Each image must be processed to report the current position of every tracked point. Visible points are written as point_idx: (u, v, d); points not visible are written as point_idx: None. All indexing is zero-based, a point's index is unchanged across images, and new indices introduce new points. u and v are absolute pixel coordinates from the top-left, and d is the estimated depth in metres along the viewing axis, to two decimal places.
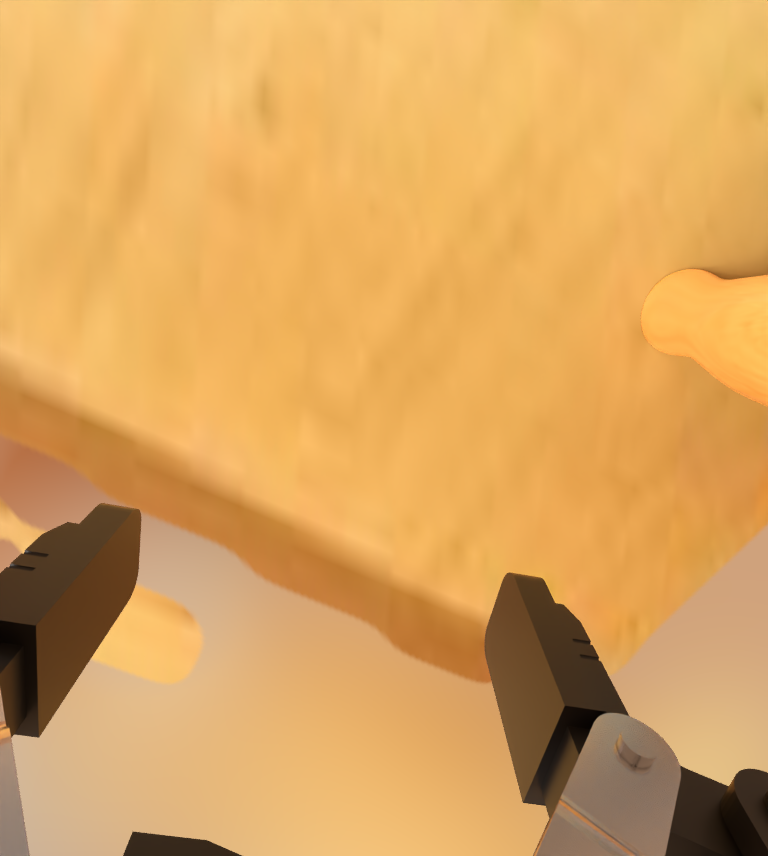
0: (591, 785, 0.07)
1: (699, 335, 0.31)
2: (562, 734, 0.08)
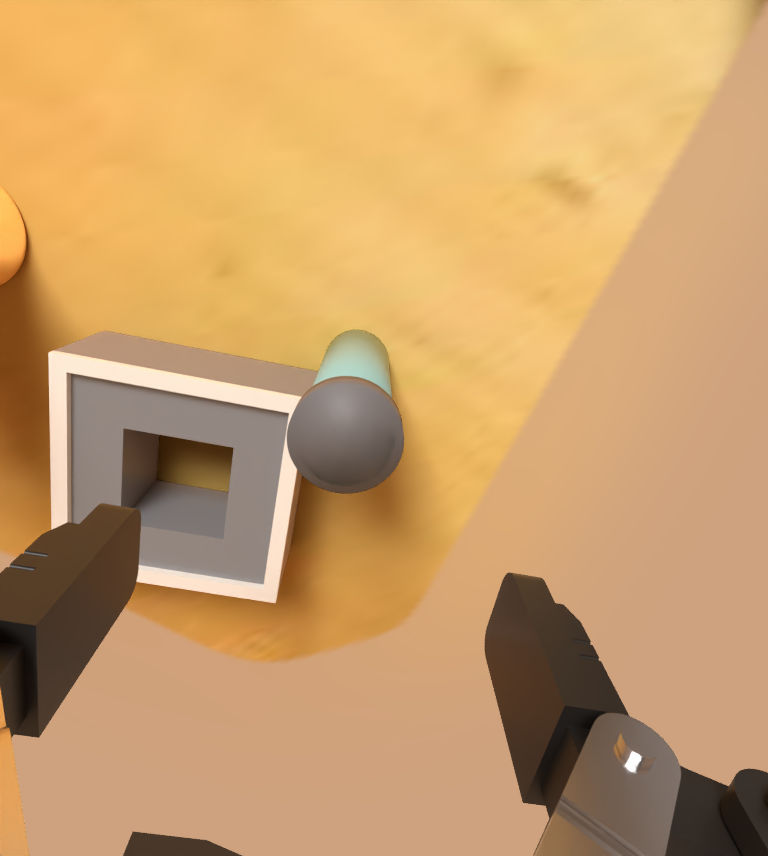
0: (591, 785, 0.07)
1: None
2: (562, 734, 0.08)
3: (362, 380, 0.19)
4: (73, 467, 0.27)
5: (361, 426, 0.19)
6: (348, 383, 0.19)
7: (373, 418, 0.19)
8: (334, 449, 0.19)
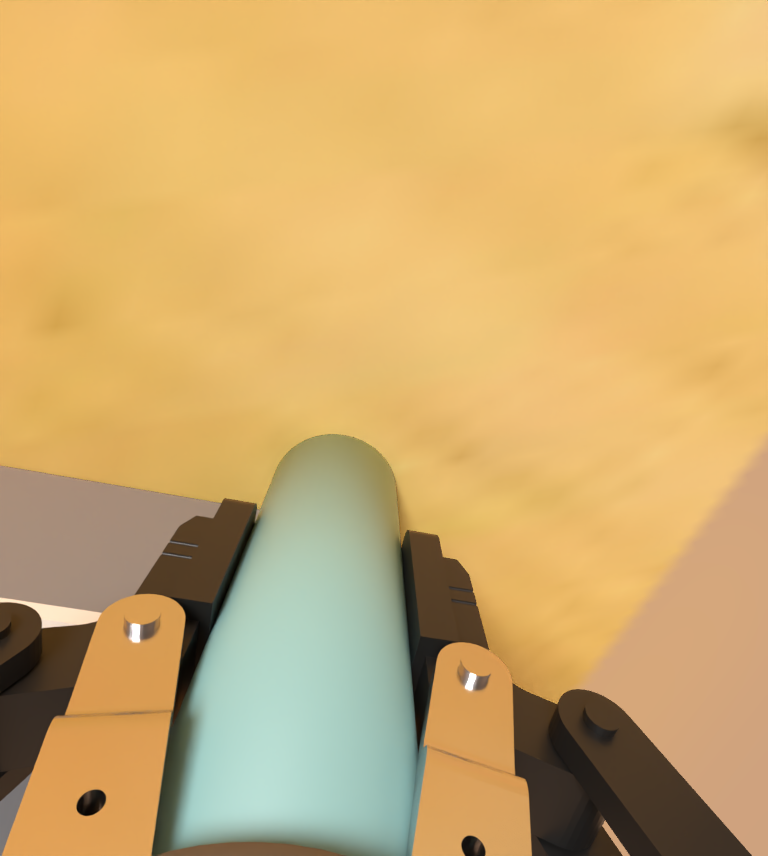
0: (446, 718, 0.07)
1: None
2: (420, 664, 0.09)
3: None
4: None
5: None
6: None
7: None
8: None
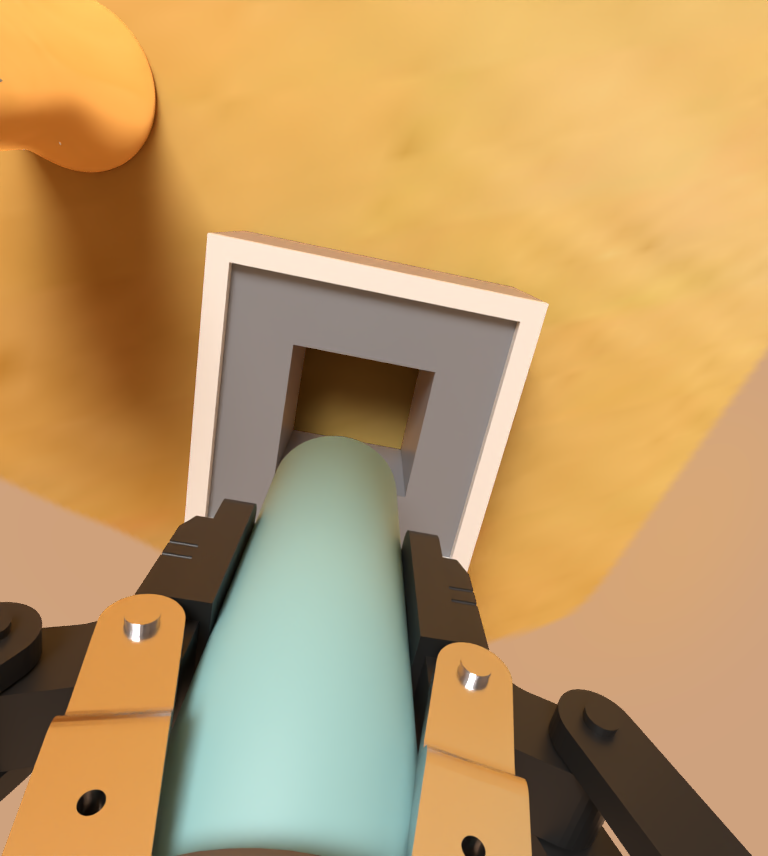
0: (446, 719, 0.07)
1: None
2: (420, 664, 0.09)
3: None
4: (221, 399, 0.21)
5: None
6: None
7: None
8: None
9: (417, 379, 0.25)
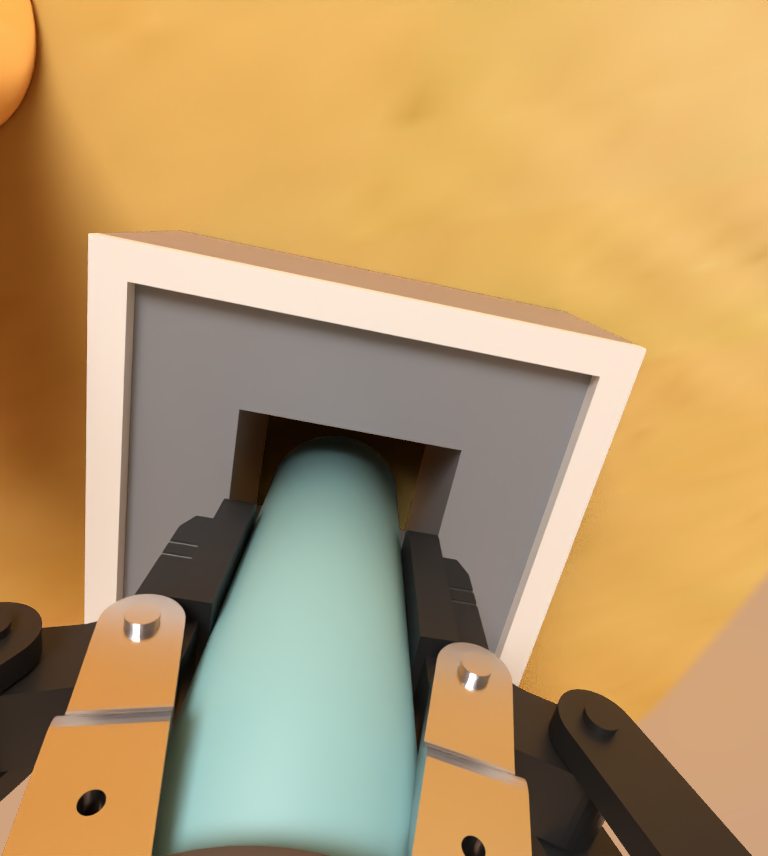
0: (446, 718, 0.07)
1: None
2: (420, 664, 0.09)
3: None
4: (131, 489, 0.13)
5: None
6: None
7: None
8: None
9: None
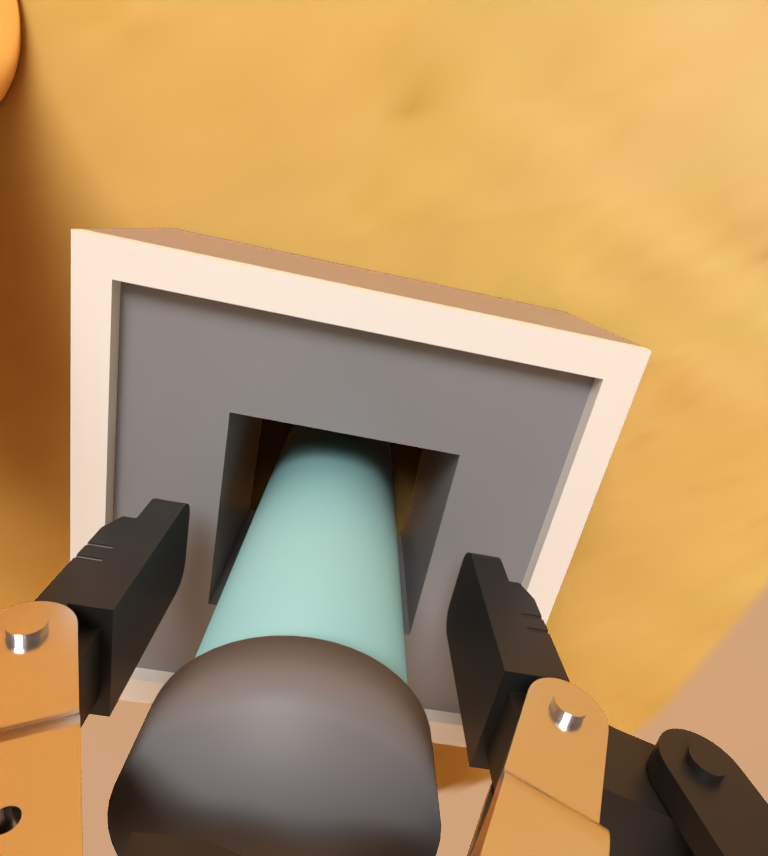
0: (531, 751, 0.07)
1: None
2: (503, 699, 0.09)
3: (325, 657, 0.07)
4: (117, 495, 0.13)
5: (320, 804, 0.07)
6: (280, 696, 0.06)
7: (355, 785, 0.07)
8: (246, 852, 0.07)
9: None
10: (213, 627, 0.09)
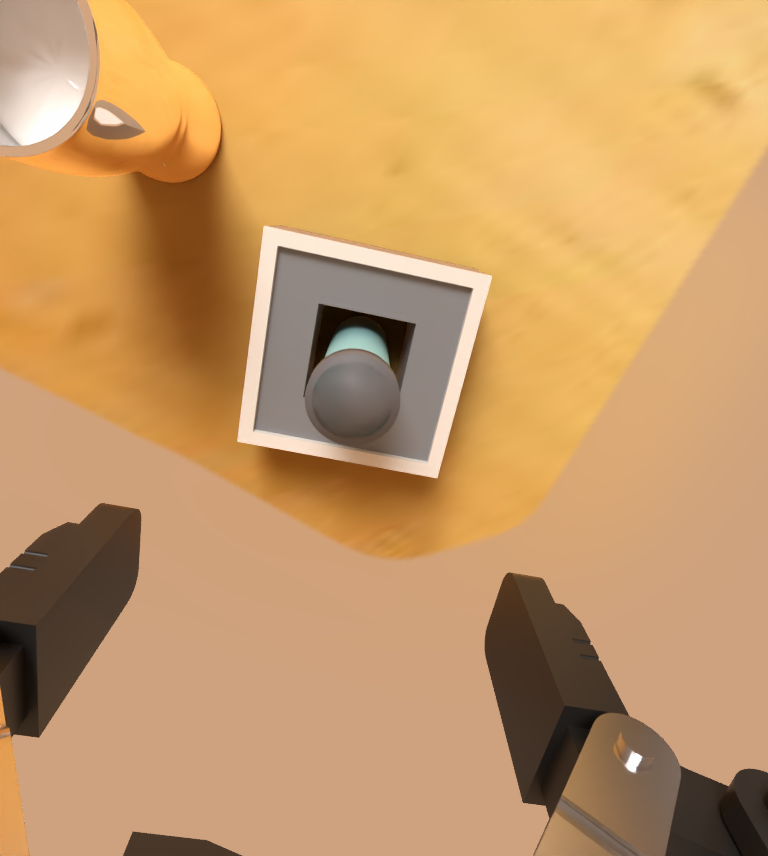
0: (591, 785, 0.07)
1: None
2: (562, 734, 0.08)
3: (366, 352, 0.24)
4: (267, 341, 0.30)
5: (365, 389, 0.23)
6: (355, 353, 0.23)
7: (375, 382, 0.23)
8: (343, 408, 0.24)
9: (404, 336, 0.34)
10: None
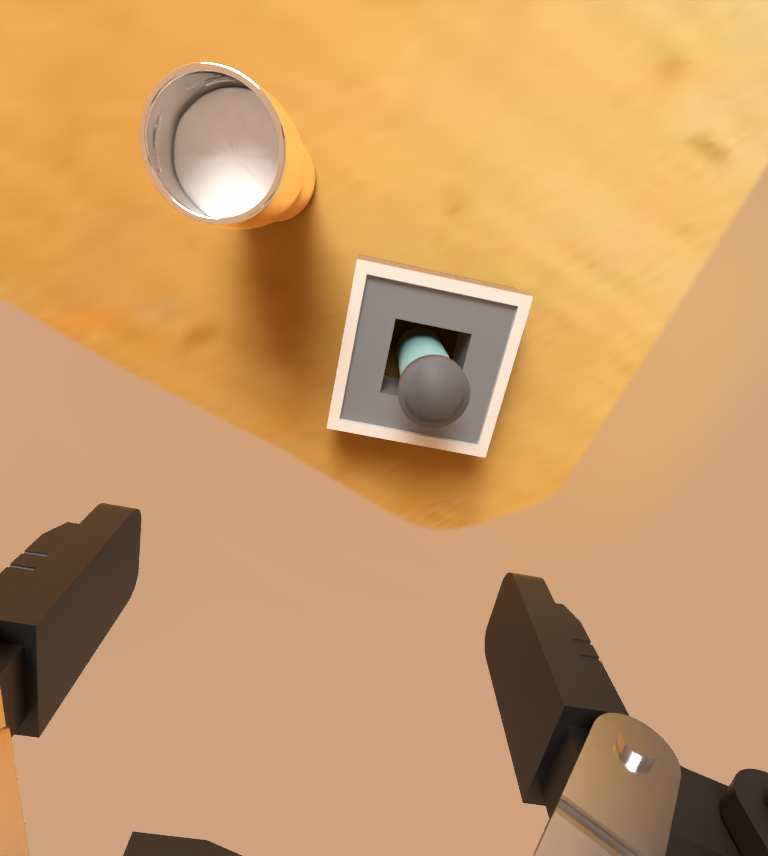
0: (591, 785, 0.07)
1: None
2: (562, 734, 0.08)
3: (444, 357, 0.32)
4: (354, 348, 0.37)
5: (444, 385, 0.31)
6: (438, 358, 0.31)
7: (452, 379, 0.31)
8: (427, 399, 0.31)
9: (456, 343, 0.42)
10: (409, 364, 0.33)
